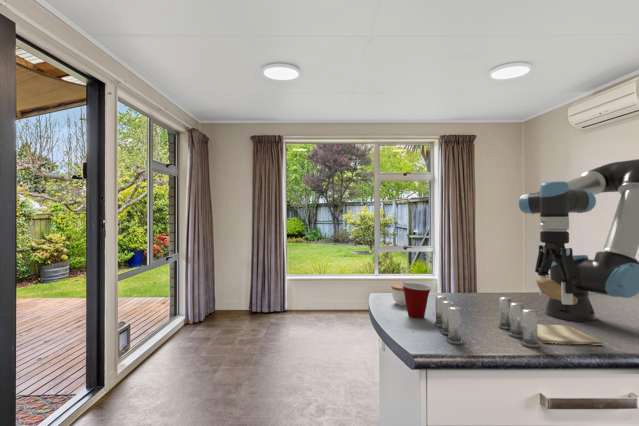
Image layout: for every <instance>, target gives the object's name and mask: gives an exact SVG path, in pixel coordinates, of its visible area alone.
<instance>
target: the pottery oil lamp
mask: <svg viewBox="0 0 639 426" xmlns="http://www.w3.org/2000/svg"><path fill="white" fill-rule="evenodd" d="M535 282H536V284H537V286H538V288H539V291H540V290H541V292H542V293H544V294H546V295H547V296H548V298H549V297H550V298H552V299H557V300H560V301H562V296H561V285H559V284H558V283H556V282H555V281H554V280H552V279H550V278H549V279H548V278H545V277H542V276H541V277H540V278H539V277H538V278H536V279H535ZM547 296H546V297H547ZM577 302H578V299H577V298H576V297H575V296H574V295H573V304H576V303H577Z"/></svg>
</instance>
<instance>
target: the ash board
mask: <svg viewBox="0 0 639 426" xmlns="http://www.w3.org/2000/svg"><path fill="white" fill-rule="evenodd" d="M537 333H538V341H539V342H540V343H542V344H545V343H552V344H551V345H570V344H602V345H603V341H600V340H599V339H598V338H597V339H596V338H594V337H592V336H590V335H588V334H587V333H584V332H583V331H580V330H578V329H576V328H574V327H572V326H570V325H568V324H566V325H565V324H539V323H537ZM553 343H555V344H553ZM558 343H559V344H558Z"/></svg>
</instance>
